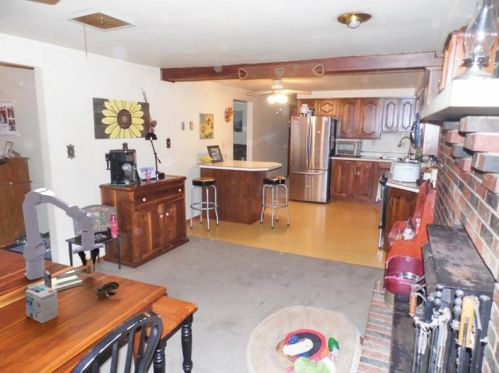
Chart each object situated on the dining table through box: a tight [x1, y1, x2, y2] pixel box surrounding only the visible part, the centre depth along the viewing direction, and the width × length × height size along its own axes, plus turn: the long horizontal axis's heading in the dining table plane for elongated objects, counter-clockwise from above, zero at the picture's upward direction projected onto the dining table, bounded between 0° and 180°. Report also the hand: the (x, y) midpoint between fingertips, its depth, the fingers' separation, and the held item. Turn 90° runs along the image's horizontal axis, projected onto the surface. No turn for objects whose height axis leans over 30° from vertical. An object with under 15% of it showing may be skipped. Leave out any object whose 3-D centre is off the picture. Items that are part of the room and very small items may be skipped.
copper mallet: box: [55, 256, 94, 280], centre depth 164 cm, size 4×17×7 cm, turn 137°
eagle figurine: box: [93, 281, 121, 300], centre depth 151 cm, size 8×7×9 cm
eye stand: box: [26, 269, 84, 292], centre depth 158 cm, size 12×20×8 cm, turn 137°
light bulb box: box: [24, 285, 59, 324], centre depth 133 cm, size 11×7×11 cm, turn 62°
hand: (88, 264), depth 169 cm, fingers closed on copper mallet, 4 cm apart
